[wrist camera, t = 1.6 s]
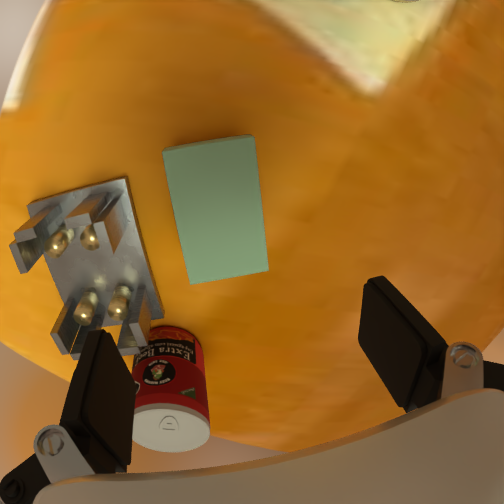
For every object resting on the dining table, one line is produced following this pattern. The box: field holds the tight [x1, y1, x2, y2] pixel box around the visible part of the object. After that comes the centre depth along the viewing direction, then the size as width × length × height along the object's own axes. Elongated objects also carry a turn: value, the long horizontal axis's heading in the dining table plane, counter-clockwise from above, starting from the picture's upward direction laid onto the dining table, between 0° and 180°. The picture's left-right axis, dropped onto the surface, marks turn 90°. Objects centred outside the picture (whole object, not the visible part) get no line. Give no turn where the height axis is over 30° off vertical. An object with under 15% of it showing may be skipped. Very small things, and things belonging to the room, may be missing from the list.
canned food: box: [131, 327, 210, 452], centre depth 28 cm, size 8×8×11 cm
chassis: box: [9, 176, 164, 360], centre depth 24 cm, size 14×10×6 cm
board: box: [162, 134, 269, 285], centre depth 22 cm, size 10×6×2 cm, turn 6°
